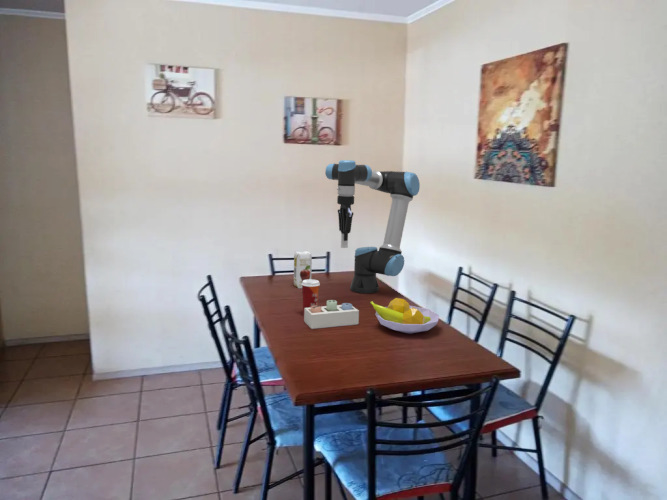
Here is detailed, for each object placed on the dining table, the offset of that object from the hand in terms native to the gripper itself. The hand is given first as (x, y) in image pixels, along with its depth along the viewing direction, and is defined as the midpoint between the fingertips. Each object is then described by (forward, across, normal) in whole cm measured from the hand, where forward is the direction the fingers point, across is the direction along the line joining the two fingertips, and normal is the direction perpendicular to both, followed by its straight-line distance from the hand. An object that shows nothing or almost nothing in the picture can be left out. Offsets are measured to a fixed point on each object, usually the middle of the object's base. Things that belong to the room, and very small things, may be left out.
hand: (344, 247), depth 232 cm
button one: (+28, +16, -4) cm, 32 cm away
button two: (+26, +16, -12) cm, 33 cm away
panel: (+29, +16, -12) cm, 35 cm away
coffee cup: (+30, +1, -16) cm, 34 cm away
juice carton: (+30, -45, -5) cm, 54 cm away
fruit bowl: (+30, +30, +16) cm, 45 cm away
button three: (+28, +16, -18) cm, 37 cm away
